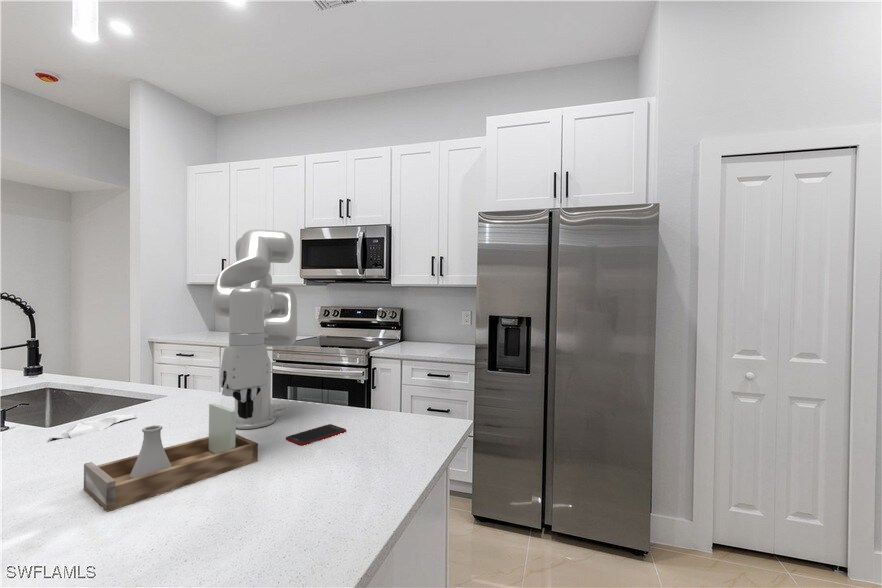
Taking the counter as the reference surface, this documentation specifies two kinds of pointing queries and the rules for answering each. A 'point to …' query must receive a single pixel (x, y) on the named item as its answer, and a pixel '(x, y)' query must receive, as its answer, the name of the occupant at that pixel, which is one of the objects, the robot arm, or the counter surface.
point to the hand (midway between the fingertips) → (245, 417)
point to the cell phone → (315, 434)
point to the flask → (150, 453)
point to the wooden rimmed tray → (163, 471)
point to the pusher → (221, 428)
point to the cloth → (93, 426)
